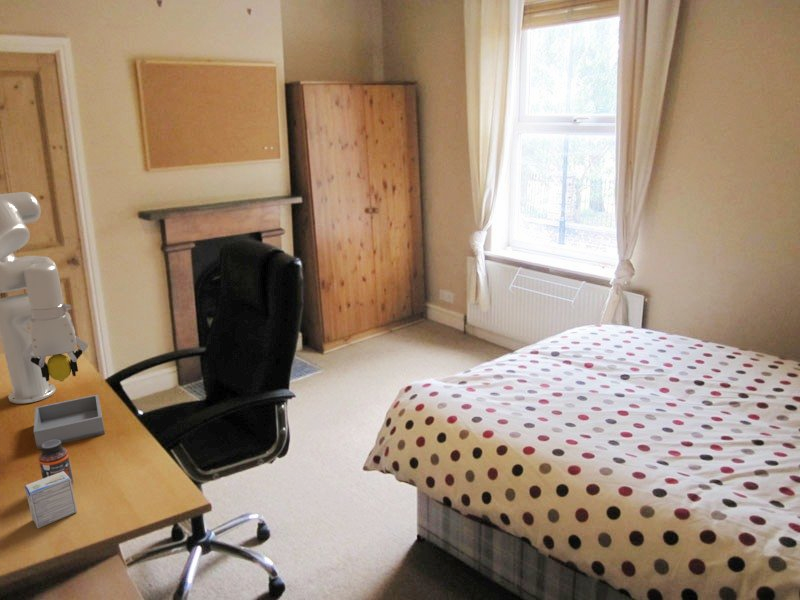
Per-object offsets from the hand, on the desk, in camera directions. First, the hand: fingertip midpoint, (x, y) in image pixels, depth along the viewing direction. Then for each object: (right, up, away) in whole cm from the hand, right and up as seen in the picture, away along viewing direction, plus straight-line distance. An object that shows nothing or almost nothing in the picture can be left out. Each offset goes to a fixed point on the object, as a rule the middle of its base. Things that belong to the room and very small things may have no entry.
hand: (61, 376), depth 167 cm
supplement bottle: (+10, -24, -20) cm, 32 cm away
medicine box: (+15, -27, -30) cm, 43 cm away
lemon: (0, -2, 0) cm, 2 cm away
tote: (-1, -15, +7) cm, 17 cm away
